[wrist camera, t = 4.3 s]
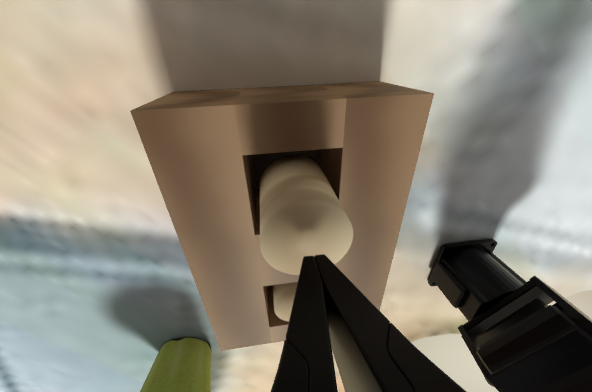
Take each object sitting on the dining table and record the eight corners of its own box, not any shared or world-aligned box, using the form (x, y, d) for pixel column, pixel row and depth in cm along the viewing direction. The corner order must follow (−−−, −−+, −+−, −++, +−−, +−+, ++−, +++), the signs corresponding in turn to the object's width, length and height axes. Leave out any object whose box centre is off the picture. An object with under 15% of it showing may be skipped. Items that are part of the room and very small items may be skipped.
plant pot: (165, 319, 27) (129, 421, 19) (238, 339, 30) (232, 429, 23) (133, 359, 30) (92, 460, 22) (203, 372, 34) (188, 462, 26)
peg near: (326, 152, 13) (357, 197, 9) (324, 210, 16) (348, 269, 11) (255, 158, 13) (254, 208, 9) (263, 216, 15) (265, 280, 11)
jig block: (380, 81, 17) (434, 93, 12) (353, 275, 27) (375, 326, 22) (173, 92, 15) (130, 110, 10) (228, 291, 26) (221, 350, 21)
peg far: (312, 241, 22) (325, 286, 18) (312, 271, 24) (324, 318, 20) (269, 246, 21) (272, 293, 17) (273, 276, 23) (276, 325, 19)
